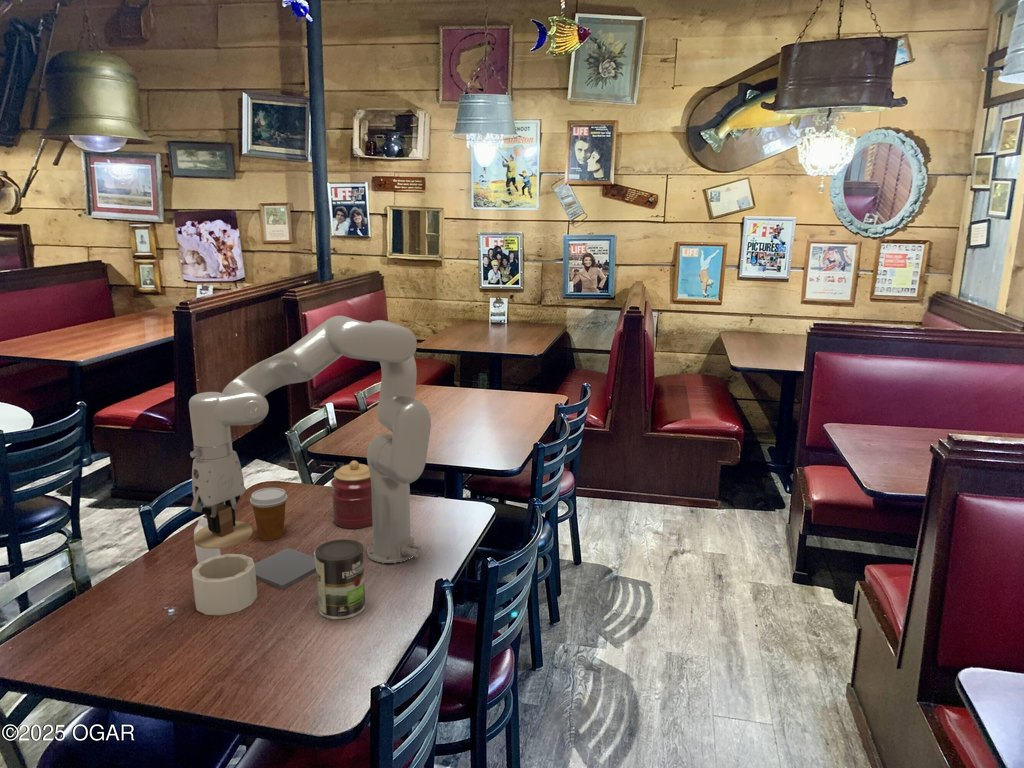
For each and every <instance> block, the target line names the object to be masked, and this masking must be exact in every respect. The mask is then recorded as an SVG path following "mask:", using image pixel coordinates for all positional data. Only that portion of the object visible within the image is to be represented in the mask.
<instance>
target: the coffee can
mask: <svg viewBox="0 0 1024 768" xmlns="http://www.w3.org/2000/svg"><path fill="white" fill-rule="evenodd" d="M364 549H365V547H364V545H363V544H362V543H361V542H359V541H357V540H354V539H345V538H344V539H343V538H342V539H334V540H333V539H332V540H330V541H327V542H324V543H322V544H320V545H318V546H317V547H316V549H315V550H314V551H315V556H316V564H317V572H316V577H317V578H316V579H317V580H316V581H317V595H318V596H317V599H318V601H317V602H318V613H319V614H320V615H321V616H322V617H323V618H326V619H330V620H346V619H351V618H353V617H356V616H358V615H359V614H361V613H362V612H363V611H364V610H365V608H366V595H365V594H366V591H365V570H364V569H365V567H364Z"/></svg>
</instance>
